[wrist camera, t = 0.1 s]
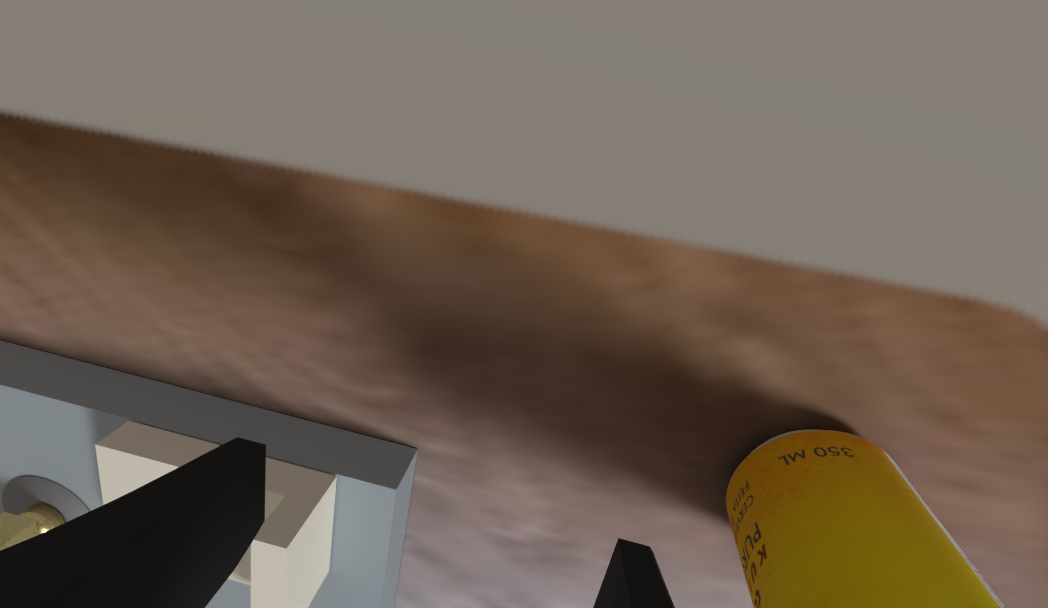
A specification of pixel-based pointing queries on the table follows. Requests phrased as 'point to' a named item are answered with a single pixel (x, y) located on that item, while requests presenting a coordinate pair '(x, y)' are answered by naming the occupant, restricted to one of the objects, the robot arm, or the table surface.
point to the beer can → (842, 530)
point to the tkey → (27, 524)
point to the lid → (290, 511)
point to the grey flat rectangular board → (116, 397)
